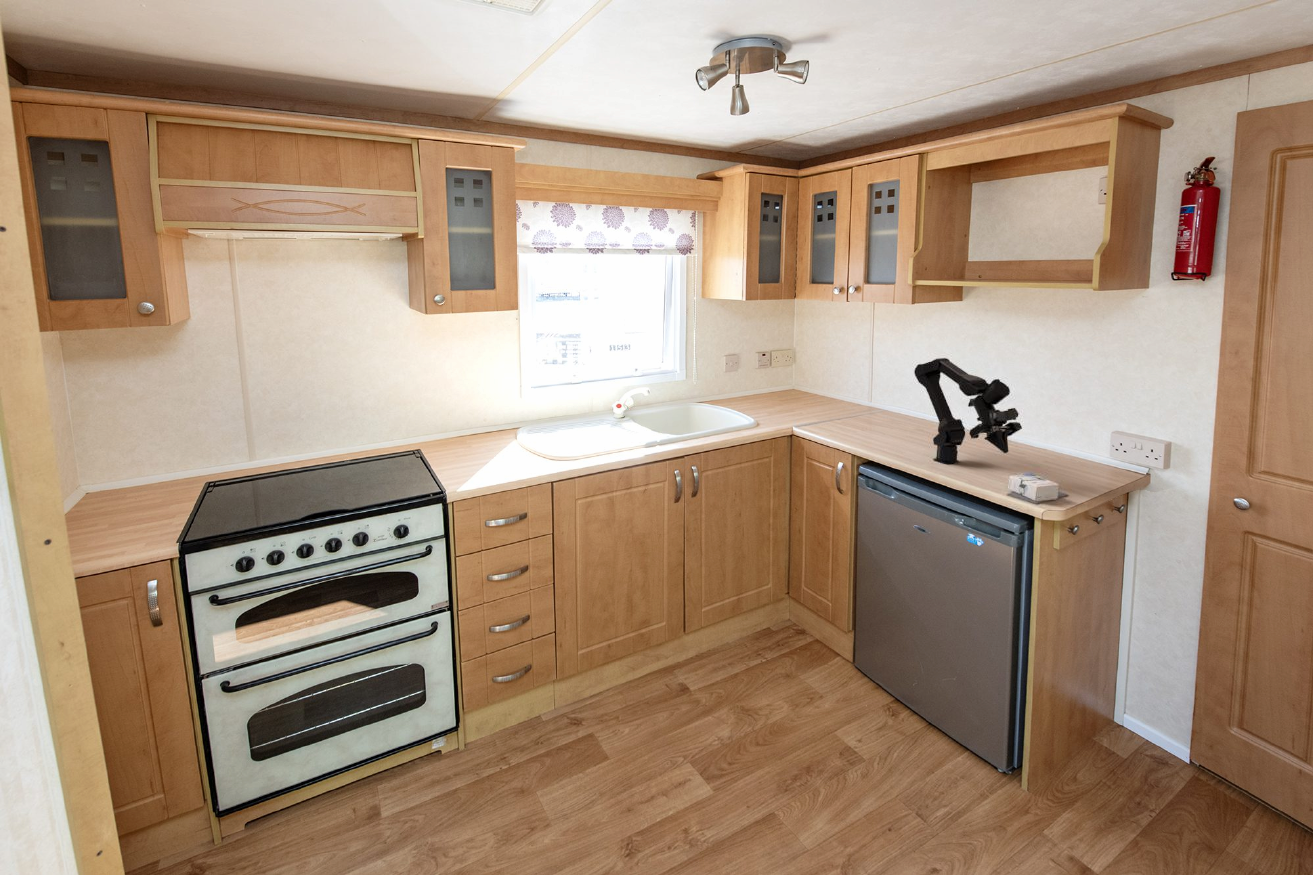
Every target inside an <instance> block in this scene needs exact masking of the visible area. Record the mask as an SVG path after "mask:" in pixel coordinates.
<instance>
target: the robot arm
mask: <svg viewBox="0 0 1313 875" xmlns="http://www.w3.org/2000/svg"><path fill="white" fill-rule="evenodd" d="M913 372H914V376H915V378H916V380H917V382H918V383H919V384H920V385H922V387H924V388H925V389H926V390H925V391H926V392H927V394H928V397H929V400H930V402H931V405H932V408H933V409H934V411H935V414H936V417H937V419H938V428H937V432H938V433H937V435H935V436H934V437H933V438H932V440H933V441H932V442H933V445H934V446H936V456H935V457H934V458H932V460H933V461H935V462H939V463H942V464H945V465H949V464H955V463H959V460H958V452H959V451H958V446H962V444H963V441H964V439H965V436H966V431H965V430H966V428H965V426H964V425H963V421H962V419H960V418H959V419H958V418H957V419H956V418H955V417H954V416H953V414H952V411H951V408H950V406H949V404H948V402H947V399H946V397H945V394H944V392H943V388H942V386H941V383H940V381H941V374H943V375H944V376H946V377H947V378H949V379H950V380H951V381H953V382H954V383H956V384H957V385H958V389H959V390H960V391H961V392H962V393H963V394H964V396H966V397H973V396H974V398H970V399H969V402H968V404H967V406H968V407H969V408H970V407H971V408H972V407H974V410H975V412H976V414H977V416H978V417H977V418H976V420H977V422H980V423H978V424H977V425H975V426H974V427H972V428H970V430H969V437H970V439H978V438H980V437H979V436H980V434H985V435H986V436H985V437H984V438H983V439H984V441H987V442H988V443H991V444H992V445H993V446H994V447H996V448H997V449H998V450H1000V451H1001V452H1002V453H1004V454H1007V453H1009V443H1008V437H1011V436H1012V435H1014V434H1016V433H1017V432H1019V431H1020V430H1022V429H1023V427H1022V424H1021V422H1017V418H1018V417H1019V412H1018V410H1017V408H1015V407H1011V408H1007V410H1002V411H1001V410H1000V409H996V407H995V406H996V405H998V404H999V403H1000V402H1001V401H1003V400H1004V399H1006V398H1007V397H1008V396H1009V395H1010V393H1011V389H1010V387H1009V386H1008V385H1007V384H1006V383H1004V382H1002V381H1001V380H1000V379H999V378H997V379H993V380H992V381H990V383H988V382H987V380H986V379H985V378H983V377H980V376H978V375H977V376H976V375H973V374H969V373H967V371H965V370H963V369H962V368H960V367H959V366H958V365H956V364H955V363H953V362H952V361H950V359H949V358H946V357H941V358H939V357H938V358H935V359H933V360H931V361H928V362H925V363H919V364H917V365H916V367H915V368H914V371H913ZM1008 421H1010V422H1008Z"/></svg>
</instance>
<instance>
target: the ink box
mask: <svg viewBox="0 0 1313 875" xmlns="http://www.w3.org/2000/svg"><path fill="white" fill-rule="evenodd" d="M1007 487H1008V490H1009V491H1012V492H1016V493H1018V494H1021V495H1023V496H1025V497H1027V498H1030V499H1032V500H1034V501H1044V500H1050V501H1053V499H1054V500H1058V499H1059V498H1058V492H1060V491H1059V490H1060V484H1059V483H1056V482H1054V481H1052V480H1048V479H1046V478H1043V477H1042V476H1039V475H1036V474H1033V473H1026V474H1025V473H1024V474H1017V475H1016V474H1014V475H1010V476H1009V480H1008V486H1007ZM1057 498H1058V499H1057Z"/></svg>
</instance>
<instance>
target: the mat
mask: <svg viewBox="0 0 1313 875" xmlns="http://www.w3.org/2000/svg"><path fill="white" fill-rule="evenodd" d="M1006 496H1009V497H1012V498H1015V499H1019V500H1020V501H1021V500H1022V501H1025V502H1028V503H1031V504H1034V505H1038V504H1042V503H1046V502H1050V501H1051V500H1044V501H1034V500H1032V499H1030V498H1027V497H1025V496H1023V495H1021V494H1018V493H1016V492H1014V491H1012V492H1009V493H1006ZM1068 496H1069V494H1067V493H1065V492H1062V491H1059V492H1058V498H1057V499H1056V500H1058V499H1061V498H1064V497H1068ZM1053 500H1055V499H1053ZM1053 500H1052V501H1053Z"/></svg>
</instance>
